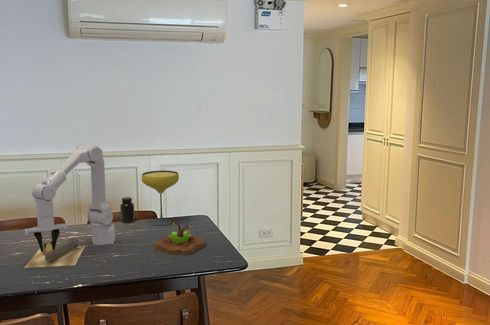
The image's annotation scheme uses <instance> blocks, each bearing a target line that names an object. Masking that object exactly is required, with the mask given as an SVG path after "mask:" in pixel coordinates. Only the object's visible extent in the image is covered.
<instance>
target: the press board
mask: <svg viewBox="0 0 490 325" xmlns="http://www.w3.org/2000/svg"><path fill="white" fill-rule="evenodd" d="M85 248H86V245H78V247H76V248H73V249H71V250H69V251H67V252H66V253H64V254H62V255H60V256H58V257H57V258H55V259H53V260H51V261H45V255H43V254H42V252H41V250H40V248H39V249H38V250H37V252H36V253H35V254H34V256H32V258H31V259H30V260H29V261H28V262H27V264H26V265H25V266H24V269H31V268H47V267H67V266H75V265H77V262H78V260H79V259H80V256H81V255H82V253H83V251H84V249H85Z"/></svg>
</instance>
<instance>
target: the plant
mask: <svg viewBox="0 0 490 325" xmlns="http://www.w3.org/2000/svg"><path fill="white" fill-rule="evenodd" d="M172 225H173V226H176V225H177V229H178V231H177V232H176V231H172V232H171V233H170V235H169V234H168V236H165V237H164V238H161V239H159V240H158V241H156V242H155V243H153V249H154V250H157V251H160V252H163V253H166V254H167V255H173V256H178V255H181V256H188V255H192V254H194V253H196V252H197V251H198V250H201V249H203V248H205V246H206V241H205V240H206V239H205V238H200V237H198V236H194V235H192V234H190V230H189V229H191V226H190V225H188V224H186V225H184V226H183V227H182V228H181V225H180V223H179V222H178V221H172Z"/></svg>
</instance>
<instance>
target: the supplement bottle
mask: <svg viewBox="0 0 490 325" xmlns="http://www.w3.org/2000/svg"><path fill="white" fill-rule="evenodd" d="M132 200H133V198H132V197H130V196H129V197H128V196H127V197H126V196H125V197H122V198H121V204H120V206H119V208H120V210H119V211H120V221H121V223H124V224H127V223H128V224H130V223H133V222H135V220H136V218H135V217H136V215H135V204H134V203H133V202H132Z"/></svg>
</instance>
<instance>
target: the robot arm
mask: <svg viewBox="0 0 490 325" xmlns="http://www.w3.org/2000/svg"><path fill="white" fill-rule="evenodd" d="M103 156H104V155H103V149H102V148H100V147H99V146H97V145H85V144H78V145H76V146H75V148H74V149H72V151H71V154H70V156H69V157H68V158H67V160H66V161H64V163H63V164H62V165H61V167H60V168H59V169H53V170H51V171H50V173H49V175H47V177H45V179H43V180H42V182H41V183H37V184H36V185H35V186H33V188H32V191H31V196H32V197H33V198H34V202H35V204H36V206H35V207H36V219H37V226H34V227H30V228H25V229H24V234H25V236H29V235H33V236H34V237H35V239H36V241H37V243H38V246H39V249H40V250H41V252H43V245H44V244H43V235H42V234H43V233H48V232H50V234H51V241H52V242H53V250H55V245H57V241H58V239H59V236H60V233H61V232H60V231H61V230H64V231H65V230H68V225H67V223H55V215H54V203H53V202H54V201H53V199H54V198H55V196H56V193H57V191H58V189H59V188H60V187H61V186H62V185H63V184H64V183H65V181H67V176H68V174H70V173H71V171H72V170H73V169H74V168H76V167H77V166H78V165H79V164H80V163H81V164H82V163H86V164H87V166H89V167H90V177H91V178H90V179H91V204H89V206H88V211H87V216H86V218H87V221H88V222H90V225H91V238H92V244H93V245H94V246H103V245H104V246H105V245H114V244H115V242H116V228H115V224H114V223H112V222H113V219H114V215H113V212H112V206H111V205H109V203H107V200H106V199H107V198H106V196H107V194H106V177H105V176H106V175H105V174H106V173H105V170H106V169H105V160H104V157H103Z"/></svg>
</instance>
